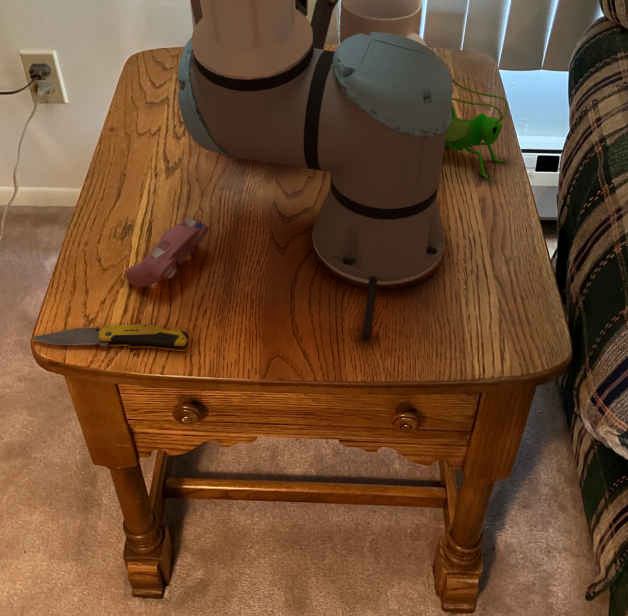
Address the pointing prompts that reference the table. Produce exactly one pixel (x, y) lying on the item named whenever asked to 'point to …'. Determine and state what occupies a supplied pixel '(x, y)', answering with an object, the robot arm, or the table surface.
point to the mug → (381, 18)
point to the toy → (474, 129)
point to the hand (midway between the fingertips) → (237, 107)
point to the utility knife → (121, 337)
